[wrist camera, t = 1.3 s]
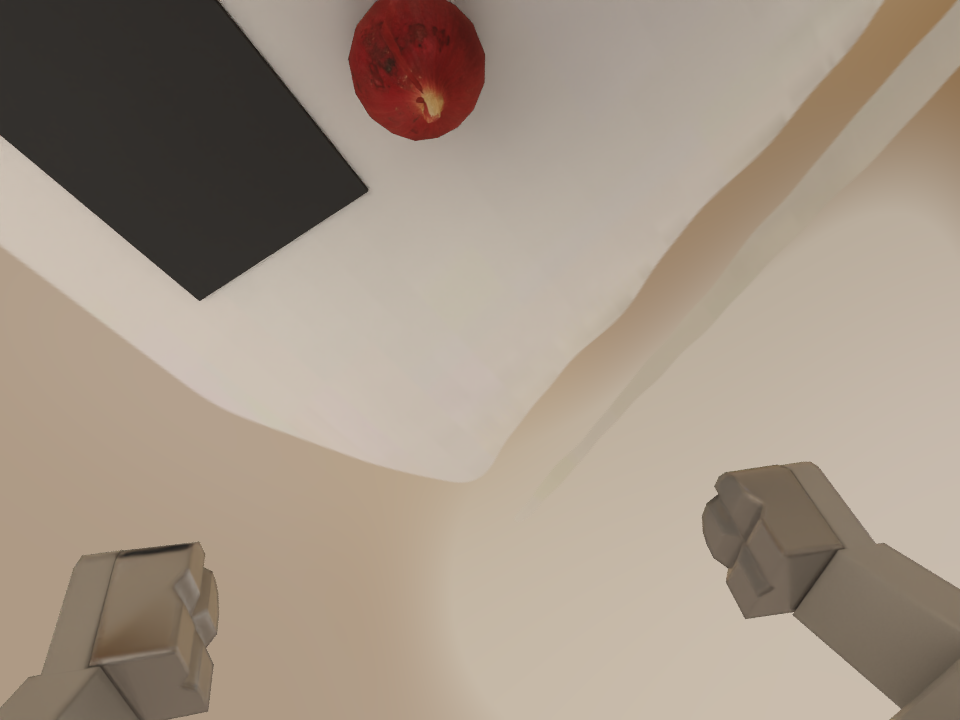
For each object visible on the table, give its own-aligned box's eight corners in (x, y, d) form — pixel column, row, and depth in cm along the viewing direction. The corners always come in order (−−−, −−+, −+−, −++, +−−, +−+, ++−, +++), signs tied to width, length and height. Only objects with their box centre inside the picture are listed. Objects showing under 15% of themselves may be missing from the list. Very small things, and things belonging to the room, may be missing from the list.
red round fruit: (321, 46, 31) (322, 112, 25) (400, -60, 28) (423, -14, 23) (415, 126, 34) (436, 201, 28) (493, 36, 32) (533, 98, 26)
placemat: (-261, -88, 24) (-266, -87, 24) (-37, -317, 21) (-41, -319, 21) (200, 298, 38) (199, 301, 38) (367, 188, 36) (368, 191, 36)
